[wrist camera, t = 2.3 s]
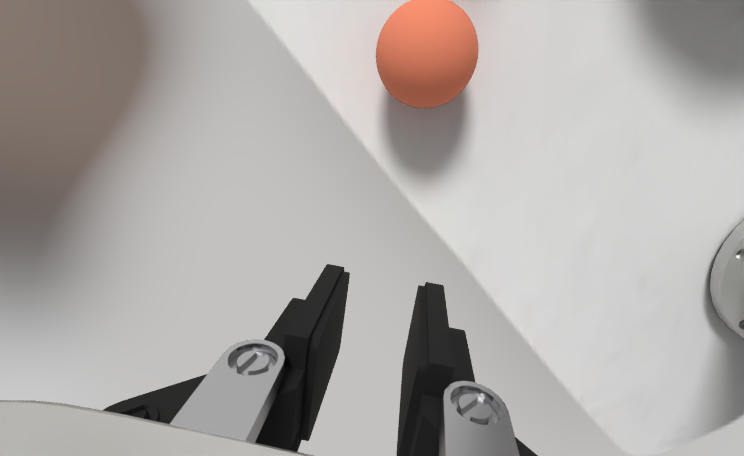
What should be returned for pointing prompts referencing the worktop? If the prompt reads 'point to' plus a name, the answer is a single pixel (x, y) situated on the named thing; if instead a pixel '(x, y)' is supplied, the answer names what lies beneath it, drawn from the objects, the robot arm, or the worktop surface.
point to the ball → (427, 52)
